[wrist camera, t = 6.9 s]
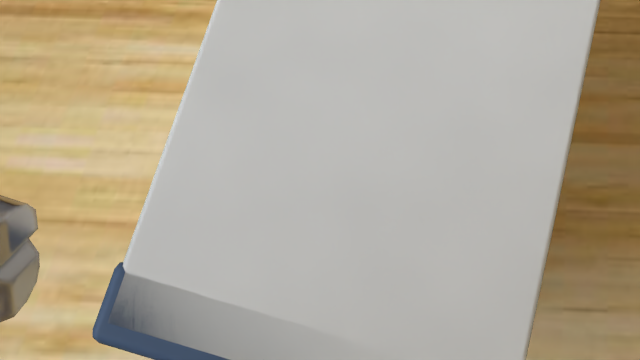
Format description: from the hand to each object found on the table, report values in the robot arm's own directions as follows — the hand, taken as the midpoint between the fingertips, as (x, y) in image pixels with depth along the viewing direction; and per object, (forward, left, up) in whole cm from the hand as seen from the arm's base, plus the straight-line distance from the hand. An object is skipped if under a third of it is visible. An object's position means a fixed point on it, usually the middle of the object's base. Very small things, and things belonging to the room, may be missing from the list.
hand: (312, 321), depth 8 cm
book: (0, +4, -9) cm, 10 cm away
